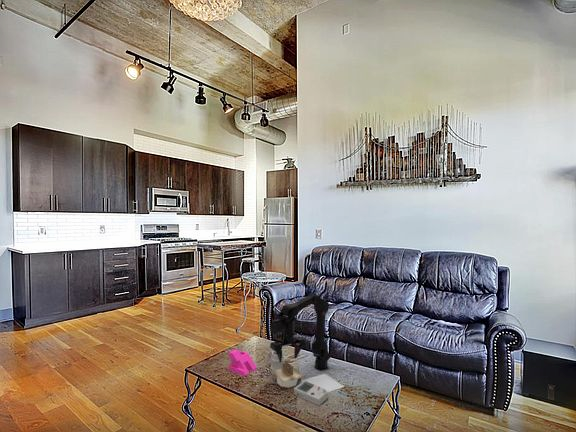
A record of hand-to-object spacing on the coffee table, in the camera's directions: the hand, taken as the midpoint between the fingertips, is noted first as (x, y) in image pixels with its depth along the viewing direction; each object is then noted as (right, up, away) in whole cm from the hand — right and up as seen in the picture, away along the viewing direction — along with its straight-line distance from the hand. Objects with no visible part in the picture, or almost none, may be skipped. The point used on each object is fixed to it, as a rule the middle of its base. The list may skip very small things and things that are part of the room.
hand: (287, 360), depth 169 cm
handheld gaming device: (+11, -12, -13) cm, 21 cm away
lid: (0, -7, 0) cm, 7 cm away
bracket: (-25, -12, +14) cm, 31 cm away
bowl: (0, -12, 0) cm, 12 cm away
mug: (-7, -12, +15) cm, 21 cm away
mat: (+18, -12, -1) cm, 22 cm away
